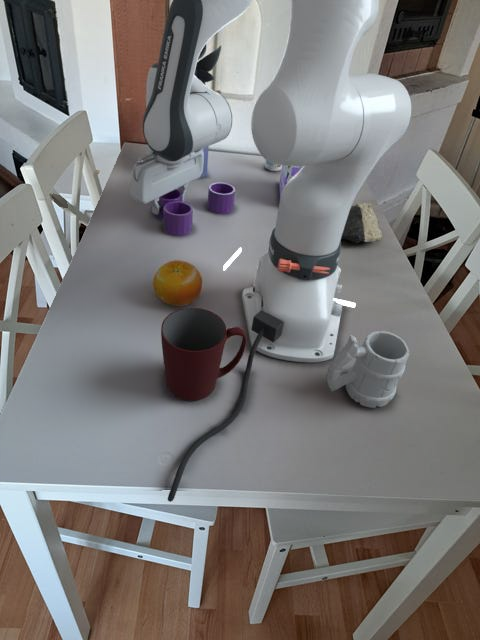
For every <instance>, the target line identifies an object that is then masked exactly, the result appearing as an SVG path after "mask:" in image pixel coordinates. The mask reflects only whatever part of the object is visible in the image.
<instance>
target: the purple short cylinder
mask: <svg viewBox="0 0 480 640" xmlns="http://www.w3.org/2000/svg"><path fill="white" fill-rule="evenodd" d="M235 196H236V188H235V187H234V185H232V184H230V183H227V182H221V181H220V182H213V183H211V184H209V185H208V191H207V209H208V210H209V212H211V213H214V214H218V215H226V214H230V213H231V212H233V211H234V208H235V207H234V205H235V199H236V198H235Z"/></svg>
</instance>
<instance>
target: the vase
mask: <svg viewBox="0 0 480 640" xmlns="http://www.w3.org/2000/svg"><path fill="white" fill-rule="evenodd" d="M206 52H207V43H206V44H205V46H204V47H203V49H202V51H201V53H200V55H199V57H198V60H197V64H196V69H195V73H194V75H195V76H196V77H197V78H198V79H199V80H200V81H201V82H202V83H203V84H205V85H206V84H207V83H209V82H212V81H214V80H216V78H215V77H214V76H213V74H211V71H213V70H214V68H216V66H217V63H218V61H219V59H220V55H221V52H222V45H219V46H218V47H217V48H216V49H215V50H213V51H211V52H210V53H209V54H207V55H206ZM206 86H207V85H206ZM209 147H210V146H208V147H206V148H204V149H203V153H204V164H203V172H202V174H201V176H200V178H207V177H208V164H209V163H208V162H209V149H210V148H209Z"/></svg>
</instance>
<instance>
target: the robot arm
mask: <svg viewBox="0 0 480 640" xmlns="http://www.w3.org/2000/svg"><path fill="white" fill-rule="evenodd" d="M252 2H253V0H172V1H171V4H170V7H169V9H168V12H167V17H166V21H165V26H164V29H163V35H162V39H161V40H162V41H161V45H160V50H159V56H158V60H157V63H154V64H153V65H151V66H150V68H149V69H148V72H147V79H146V88H145V89H146V91H145V92H146V95H145V96H146V97H145V104H146V105H145V107H146V108H145V110H144V114H143V118H142V135H143V137H144V141H145V143H146V144H147V147H146V148H147V150H146V151H147V152H146V153H147V154H146V155H145V156H141V157H138V158H137V160H136V162H135V163H134V165H133V166H132V171H131V180H130V196H131V198H132V199H133V200H134V201H136V202H137V203H141V204H143V205H146V204H148V203H149V205H150V206H151V213H152V214H154V215H155V214H156V215H157V214H159V213H161V212H162V206H161V205H159V204H158V202H157V201H159V197H161V196H163V195H165V194H167V193H169V192H171V191H173V190H175V189H178V190H180V191H181V192H182V194H183V200H182V202H185V195H186V192H187V190H188V188H189V183H192V182H193V181H196V180H198V179H199V178H201V177H200V176H201V174H202V172H203V164H204V153H203V149H204V148H206V147H208V146H209V147H210V146H212V145H215V144H217V143H220V142H222V141H224V140H225V139H227V138H228V136H229V135H230V133H231V130H232V128H233V127H232V126H233V112H232V108H231V106H230V103H229V102H228V100H227V99H226V97H225V96H224V95H223V94H221V93H220V92H219V91H216V90H213V89H212V88H210V87H209V86H207V85H205V84H206V83H205V84H203V83H202V82H201V81H200V80H199V79H198V78H197V77H196V76H195V75H194V73H195V69H196V64H197V62H198V61H199V60H198V57H199V55H200V53H201V51H202V49H203V47H204V46H205V44H206V45H207V43H208V42H209V41H210V40H211V39H212V38H213V37H214V36H215V35H216V34H217V33H218V32H220V31H221V30H222V29H224V28H225V27H226V26H227V25H229V24H230V23H232V22H234V21H235V20H237V19H238V18H239V17H241V16H242V15H243V14H244V13H245V12H246V11H247V10H248V9H249V7H250V6H251V4H252ZM379 12H380V0H290V19H289V29H288V30H289V31H288V36H287V41H286V45H285V48H284V51H283V56H282V59H281V61H280V64H279V66H278V69H277V71H276V72H275V75H274V76H273V78H272V80H271V81H270V82H269V84H268V85H267V86H266V88H264V89H263V91H261V93H260V94H259V96H257V99H256V101H255V103H254V106H253V109H252V112H251V120H250V129H251V136H252V140H253V144H254V145H255V147H256V149H257V151H258V152H259V154H260V155H261V156H262V157H263V158H264V159H265V161H266V160H267V161H268V162H270V163H272V164H277V165H287V166H303V167H302V168H301V170H300V171H299V172H298V173H297V174H296V175H294V176H293V177H292V178H291V179H290V180H289V181H288V182H287V184H286V185H285V187H284V188H283V190H282V193H281V198H279V203H278V209H277V216H276V221H275V225H274V226H275V227H273V229H272V231H271V235H270V237H269V242H268V251H267V252H266V253H265V254H264V255H262V256H260V257H259V258H258V259H257V265H256V271H255V275H254V281H253V286H250V287H246V288H245V289H243V290H242V294H241V299H242V305H243V310H244V315H245V322H246V327H247V331H248V337H249V342H250V347H251V348H250V350H249V354H248V358H247V362H246V368H245V372H244V375H243V380H242V387H241V393H240V398H239V401H238V402H237V405H236V407H235V408H234V410H233V412H232V413H231V415H230V416H229V417H227V419H226V420H224V421H223V422H222V423H221V424H218V425H217V426H216V427H214V428H212V429H210V430H209V431H208V432H206V433H205V434H203V435H201V436H200V437H199V438H198V439H197V440H196V441H195V442H194V443H193V444H192V445H191V446H190V447H189V449H188V450H187V451H186V453H185V454H184V456H183V457H182V459H181V461H180V463H179V464H178V467H177V470H176V473H175V475H174V478H173V481H172V485H171V487H170V490H169V492H168V495H167V501H168V502H169V503H170V502H173V501H174V500H175V498H176V494H177V491H178V489H179V485H180V483H181V480H182V477H183V474H184V471H185V468H186V466H187V464H188V463H189V460H190V459H191V457H192V455H193V454H194V453H195V451H196V450H197V449H198V448H199V447H200V446H201V445H202V444H203V443H205V442H206V441H207V440H209V439H210V438H212V437H213V436H215V435H217V434H218V433H220V432H221V431H222V430H224V429H226V428H227V427H228V426H229V425H231V424H232V423H233V422H234V421H235V420H236V418H237V417H238V416H239V415H240V413H241V411H242V410H243V407H244V404H245V402H246V398H247V392H248V385H249V380H250V374H251V370H252V365H253V361H254V357H255V354H256V352H258V353H260V354H262V355H264V356H266V357H267V356H268V357H270V358H274V359H277V360H278V359H279V360H282V361H288V362H297V363H322V362H327V361H329V360H332V359H333V358H334V356H335V350H336V346H337V345H336V344H337V339H338V334H339V327H340V321H341V316H342V311H343V306H344V307H345V306H346V307H350V308H354V309H355V307H356V305H357V304H356V302H352V301H349V300H344V299H339V298H338V297H335V294H336V293H339V294H340V293H341V292H342V289H343V285H342V284H339V283H338V281H339V278H340V275H341V272H342V269H341V268H340V266H339V265H338V263H339V260H340V256H341V249H342V241H341V240H342V239H341V237H342V233H343V230H344V227H345V224H346V221H347V218H348V214H349V211H350V209H351V206H353V203H354V201H355V199H356V197H357V196H358V193H359V192H360V190H361V188H362V187H363V185H364V183H365V182H366V180H367V179H368V177H369V176H370V174H371V172H372V171H373V169H374V168H375V167H376V165H377V163H378V162H379V161H380V159H381V158H382V156H383V155H384V154H385V153H386V152H387V151H388V150H389V149H390V148H391V147H392V146H393V145H394V144H395V143H397V142H398V141H399V140H400V139H401V138H402V137H403V136H404V134H405V133H406V131H407V129H408V128H409V125H410V121H411V117H412V100H411V96H410V94H409V92H408V90H407V88H406V86H405V85H404V84H403V83H402V82H401V81H399V80H398V79H395V78H392V77H389V76H385V75H381V74H377V73H372V72H371V73H370V72H366V73H365V72H364V73H354V74H352V73H351V74H349V73H350V67H351V63H352V59H353V56H354V53H355V51H356V48H357V45H358V44H359V41H360V40H361V38H362V37H363V36H364V35H366V34H367V33H368V32H369V31H370V30H371V29H372V27H373V26H374V25H375V23H376V21H377V19H378V15H379ZM156 215H155V216H156ZM241 253H242V247H239V248H238V249H237V250H236V251H235V253H234V254H233V255H232V256H231V257H230V258H229V259H228V260H227V261H226V262H225V264H224V265H223V268H222V270H223V271H226V270H227V268H228V267H229V266H231V264H232V263H233V262H234V261H235V259H237V257H238V256H239V255H241Z"/></svg>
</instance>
